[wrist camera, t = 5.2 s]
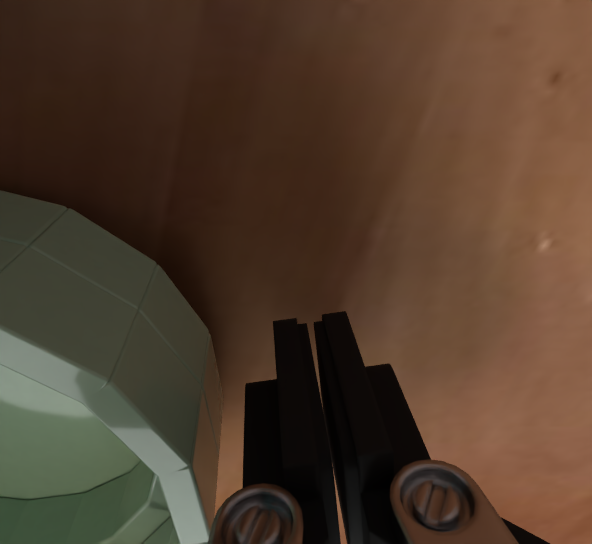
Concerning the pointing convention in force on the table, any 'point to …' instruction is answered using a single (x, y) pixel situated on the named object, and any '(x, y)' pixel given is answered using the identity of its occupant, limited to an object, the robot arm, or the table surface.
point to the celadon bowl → (100, 389)
